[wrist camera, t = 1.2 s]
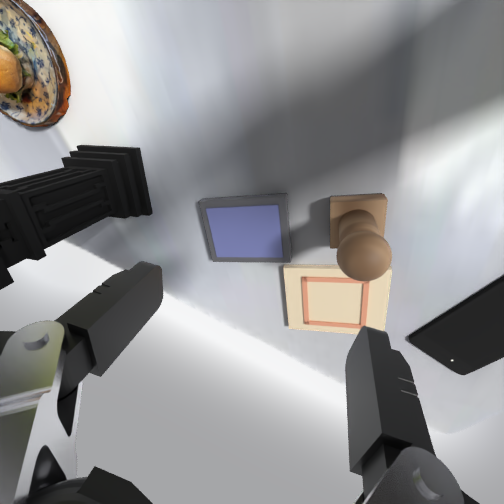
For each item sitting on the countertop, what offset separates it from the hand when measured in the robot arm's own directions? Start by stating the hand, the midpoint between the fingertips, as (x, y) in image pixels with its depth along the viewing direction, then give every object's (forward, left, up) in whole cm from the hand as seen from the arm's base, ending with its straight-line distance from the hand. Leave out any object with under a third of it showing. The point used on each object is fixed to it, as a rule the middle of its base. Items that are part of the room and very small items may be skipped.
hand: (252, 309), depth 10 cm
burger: (+30, -15, -21) cm, 39 cm away
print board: (-3, +15, -20) cm, 26 cm away
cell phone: (-21, +17, -21) cm, 34 cm away
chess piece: (+23, -2, -21) cm, 30 cm away
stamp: (-5, +4, -20) cm, 21 cm away
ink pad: (+7, +5, -20) cm, 22 cm away
